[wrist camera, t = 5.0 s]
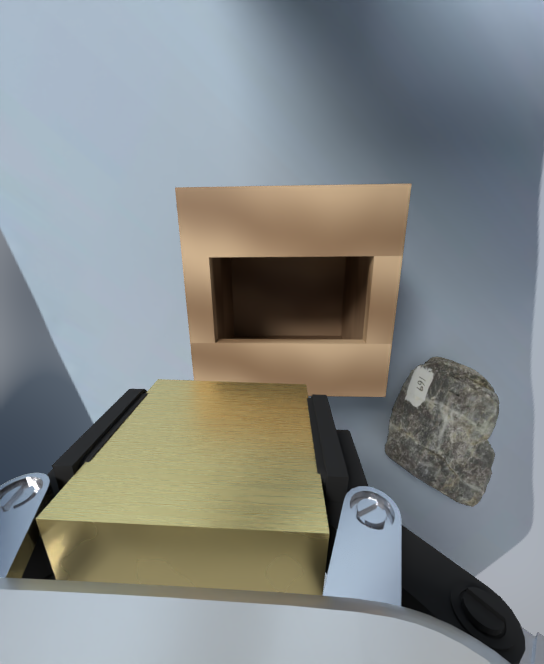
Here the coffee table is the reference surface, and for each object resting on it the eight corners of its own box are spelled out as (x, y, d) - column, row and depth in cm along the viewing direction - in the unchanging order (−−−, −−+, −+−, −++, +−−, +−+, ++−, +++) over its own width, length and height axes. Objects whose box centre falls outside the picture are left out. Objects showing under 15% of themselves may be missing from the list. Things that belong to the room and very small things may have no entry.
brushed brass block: (158, 379, 11) (35, 518, 6) (306, 384, 11) (329, 534, 6) (165, 440, 12) (67, 611, 7) (302, 445, 12) (318, 626, 7)
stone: (363, 362, 32) (419, 355, 22) (421, 359, 33) (499, 351, 23) (376, 492, 30) (444, 547, 20) (438, 485, 31) (531, 535, 21)
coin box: (218, 210, 24) (175, 187, 15) (359, 208, 24) (411, 183, 14) (226, 342, 28) (195, 394, 18) (349, 343, 27) (385, 396, 18)
